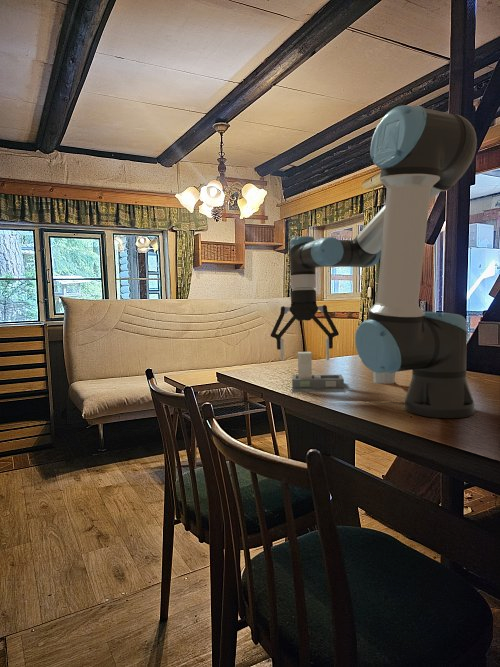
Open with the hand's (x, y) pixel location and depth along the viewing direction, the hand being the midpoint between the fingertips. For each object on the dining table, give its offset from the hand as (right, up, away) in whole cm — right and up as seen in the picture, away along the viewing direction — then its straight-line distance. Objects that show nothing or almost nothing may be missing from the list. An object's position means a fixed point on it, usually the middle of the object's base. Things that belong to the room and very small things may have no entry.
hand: (304, 360), depth 132 cm
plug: (0, -8, +1) cm, 8 cm away
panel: (+4, -9, 0) cm, 9 cm away
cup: (+25, -8, +3) cm, 26 cm away
